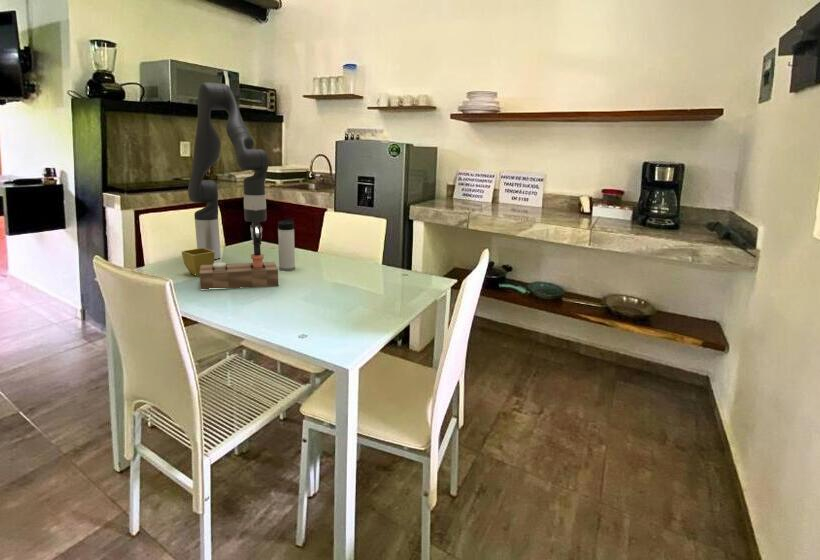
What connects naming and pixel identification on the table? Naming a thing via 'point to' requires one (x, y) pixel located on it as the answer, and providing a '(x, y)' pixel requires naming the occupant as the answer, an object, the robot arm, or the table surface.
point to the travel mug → (286, 245)
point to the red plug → (257, 261)
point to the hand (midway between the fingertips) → (257, 255)
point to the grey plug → (219, 265)
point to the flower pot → (197, 259)
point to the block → (239, 276)
